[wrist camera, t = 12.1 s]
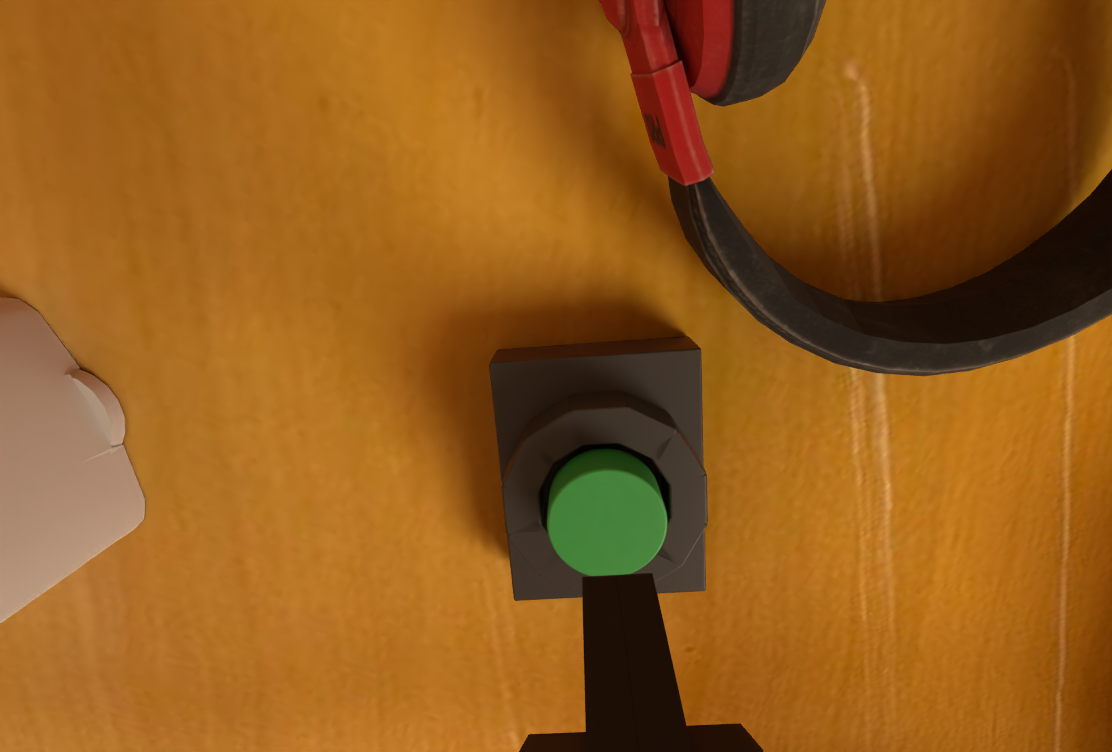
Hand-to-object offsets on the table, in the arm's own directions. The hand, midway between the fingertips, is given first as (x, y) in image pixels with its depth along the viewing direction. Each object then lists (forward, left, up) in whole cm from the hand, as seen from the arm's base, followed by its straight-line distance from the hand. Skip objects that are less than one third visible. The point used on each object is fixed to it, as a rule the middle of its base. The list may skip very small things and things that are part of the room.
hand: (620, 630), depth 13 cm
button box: (0, 0, -11) cm, 11 cm away
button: (0, 0, -7) cm, 7 cm away
